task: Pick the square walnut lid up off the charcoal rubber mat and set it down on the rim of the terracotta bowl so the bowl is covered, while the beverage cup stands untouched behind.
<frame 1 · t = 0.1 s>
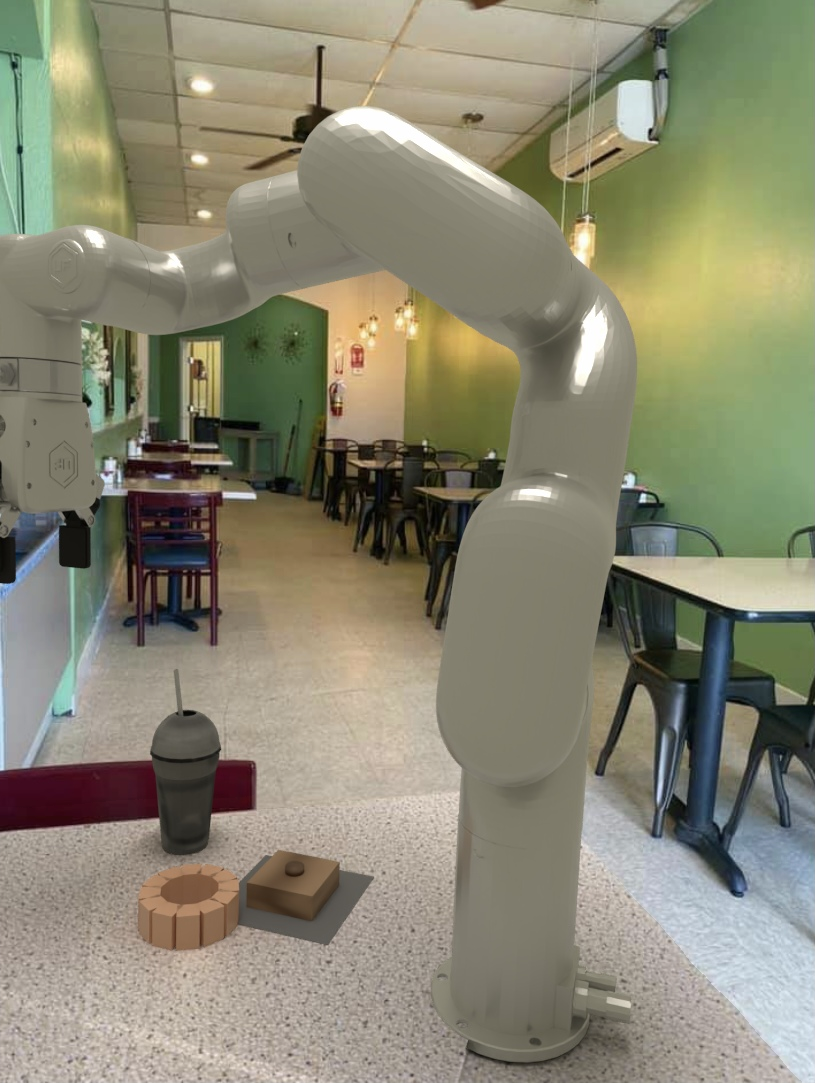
hand: (38, 574, 74), 31 cm above the table, tool pointing down, fingers open, 9 cm apart
bowl: (189, 930, 74), on the table
beverage cup: (185, 854, 87), on the table
mat: (293, 905, 78), on the table
lid: (294, 895, 78), point 1 cm above the table, touching mat
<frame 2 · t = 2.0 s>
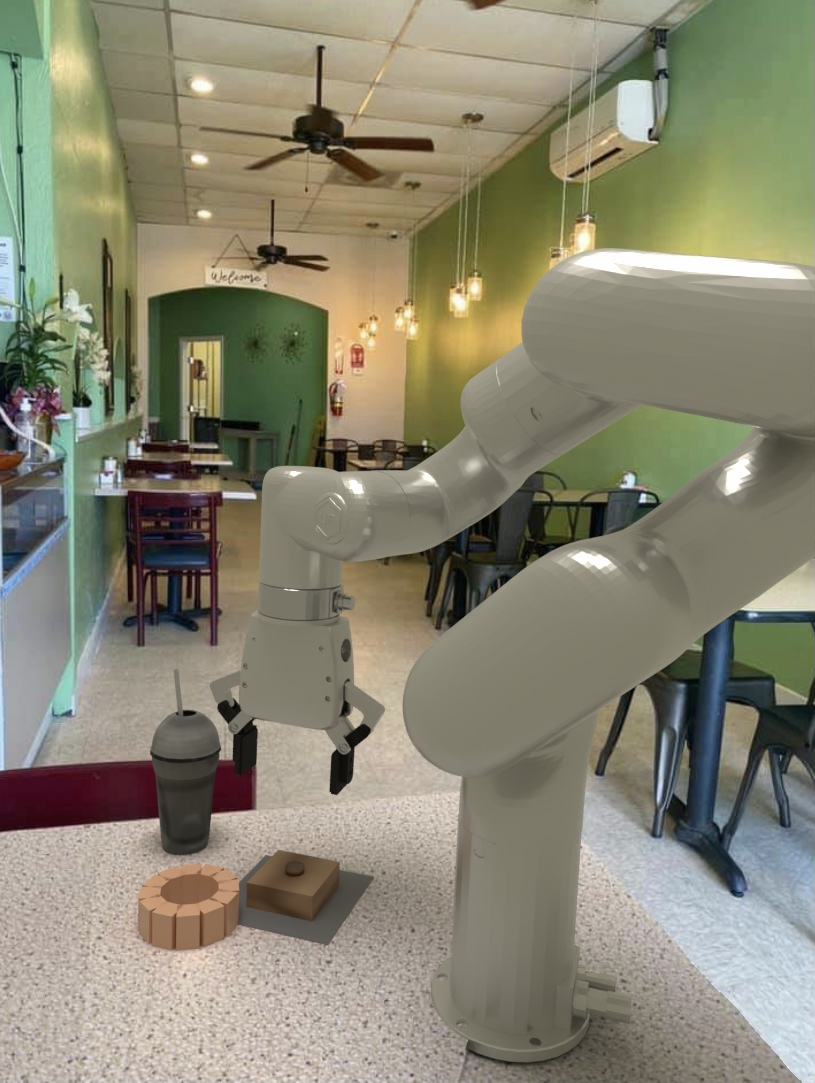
hand: (291, 779, 77), 12 cm above the table, tool pointing down, fingers open, 9 cm apart
nothing on the table moved.
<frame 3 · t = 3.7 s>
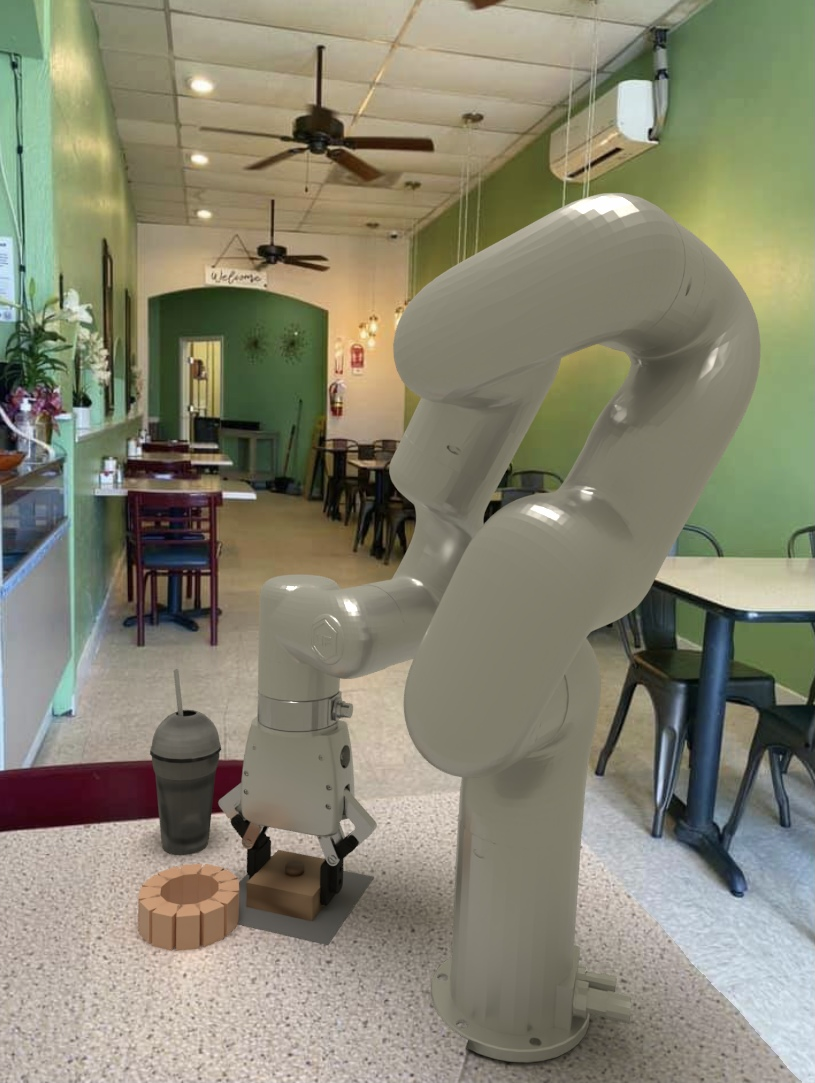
hand: (294, 888, 78), 2 cm above the table, tool pointing down, fingers closed on lid, 6 cm apart
lid: (294, 895, 78), point 1 cm above the table, touching gripper, mat
everything else where it was.
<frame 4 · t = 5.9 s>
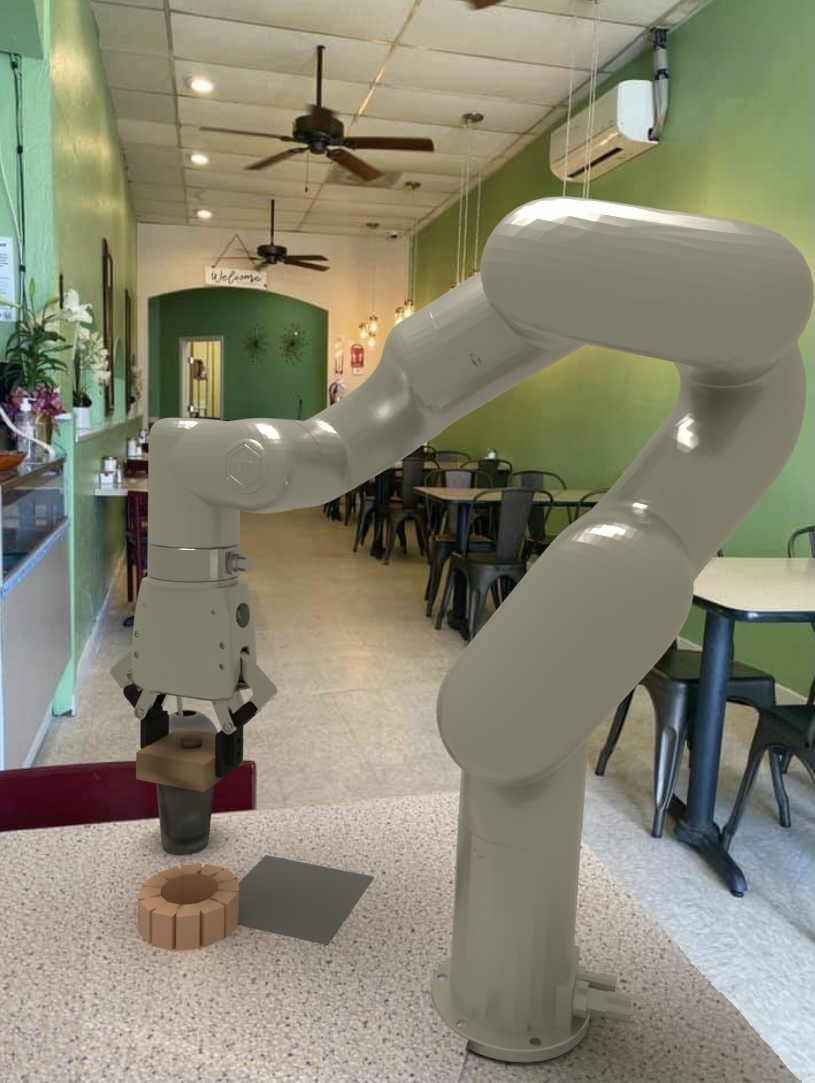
hand: (190, 763, 72), 16 cm above the table, tool pointing down, fingers closed on lid, 6 cm apart
lid: (191, 771, 72), point 15 cm above the table, touching gripper
everything else where it was.
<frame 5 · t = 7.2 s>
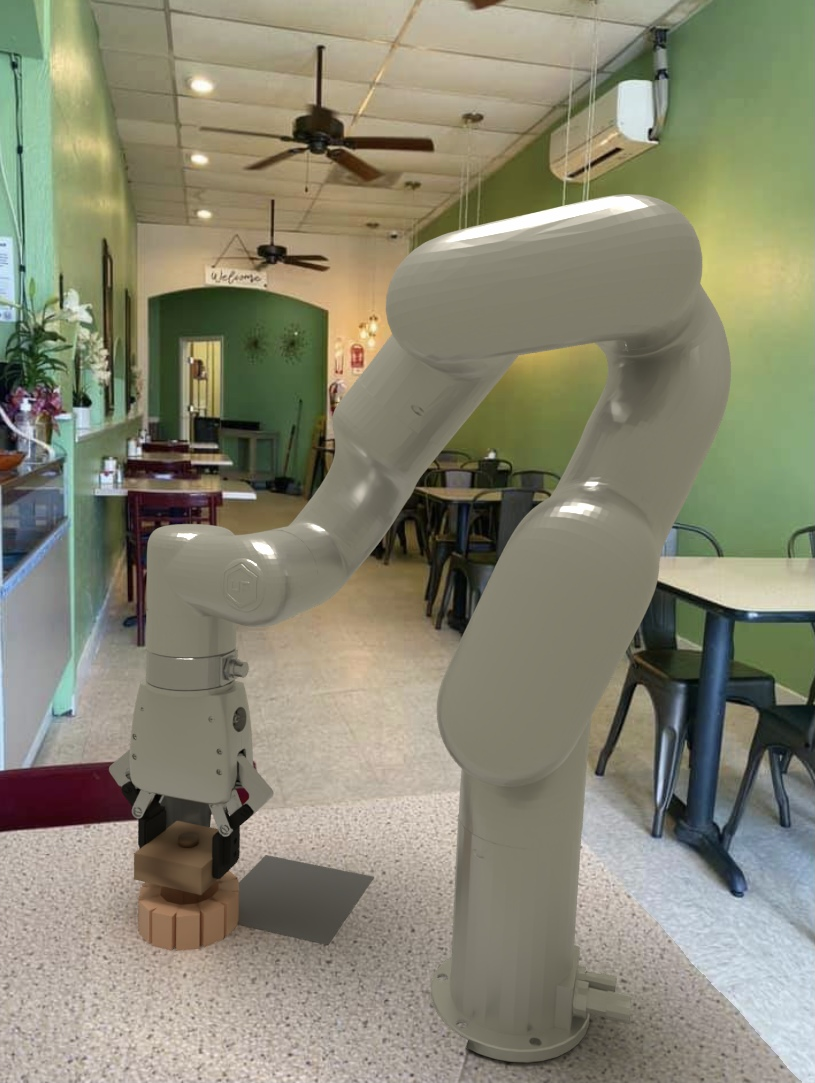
hand: (188, 861, 73), 7 cm above the table, tool pointing down, fingers closed on lid, 6 cm apart
lid: (188, 868, 73), point 6 cm above the table, touching gripper
everything else where it was.
when the fingers open (6 cm above the table, at t = 8.2 s): lid drops 1 cm, resting on bowl.
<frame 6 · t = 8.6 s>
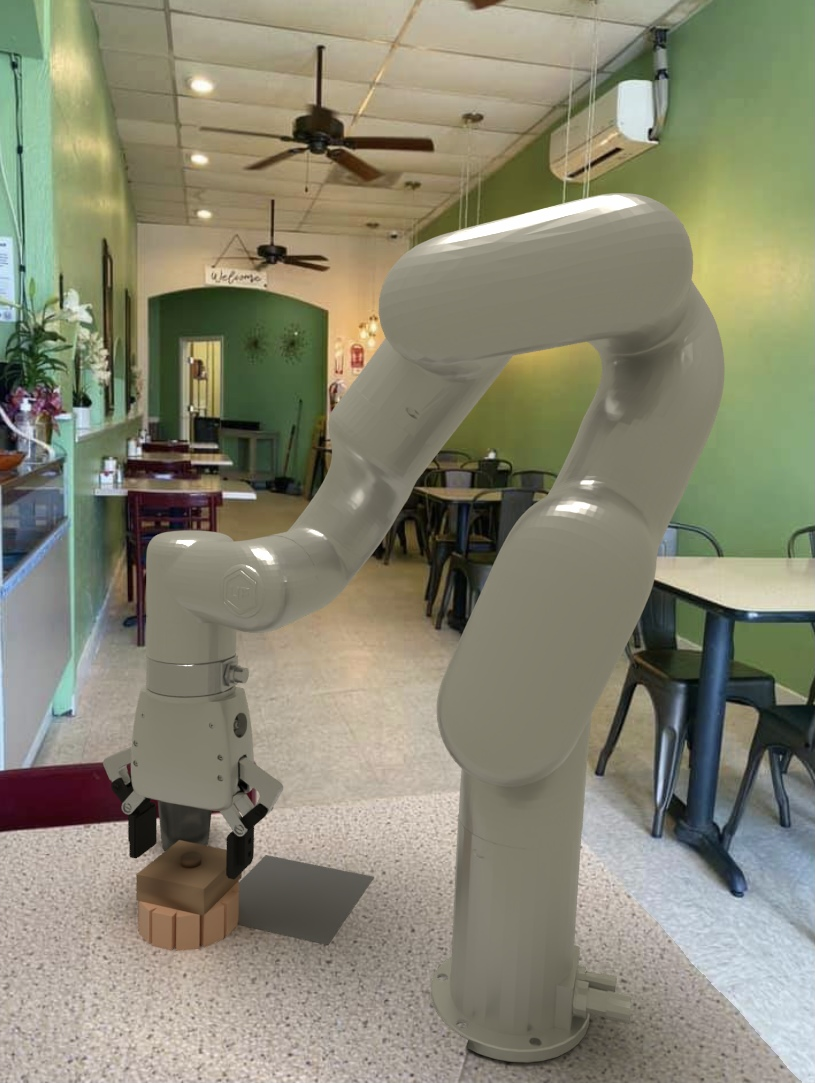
hand: (190, 861, 73), 7 cm above the table, tool pointing down, fingers open, 9 cm apart
lid: (190, 888, 73), point 4 cm above the table, touching bowl
everything else where it was.
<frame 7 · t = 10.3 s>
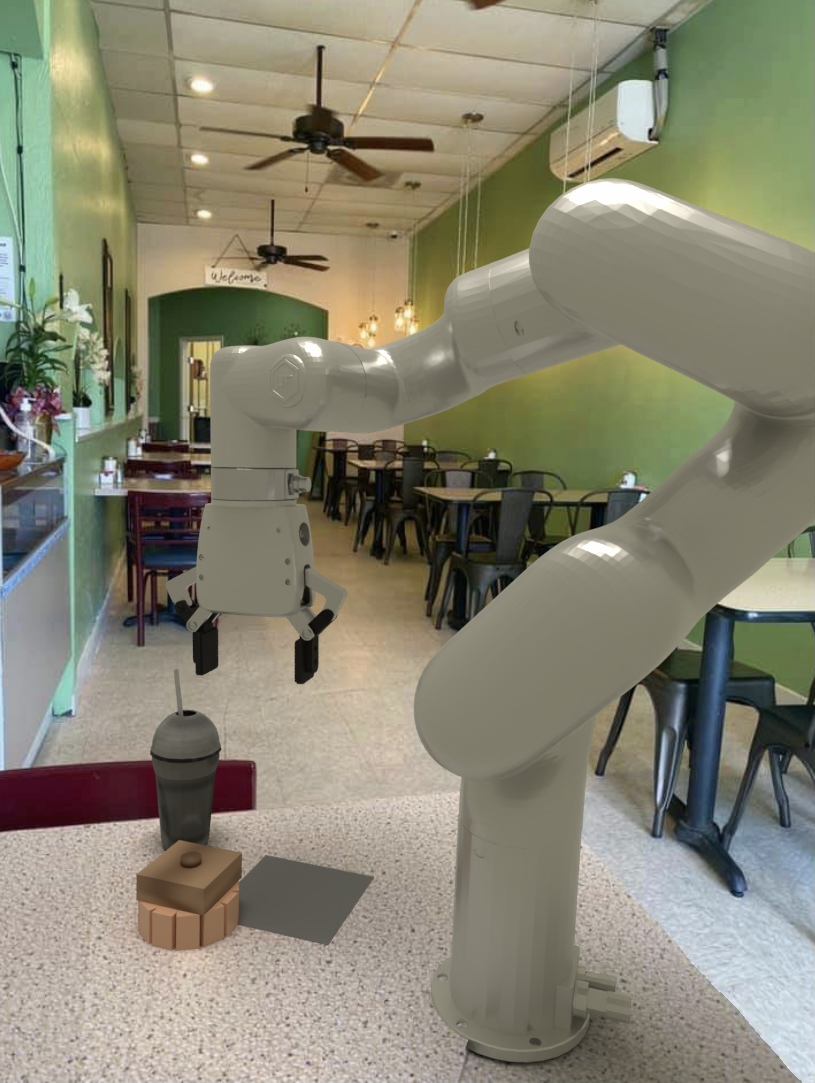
hand: (255, 676, 75), 23 cm above the table, tool pointing down, fingers open, 9 cm apart
nothing on the table moved.
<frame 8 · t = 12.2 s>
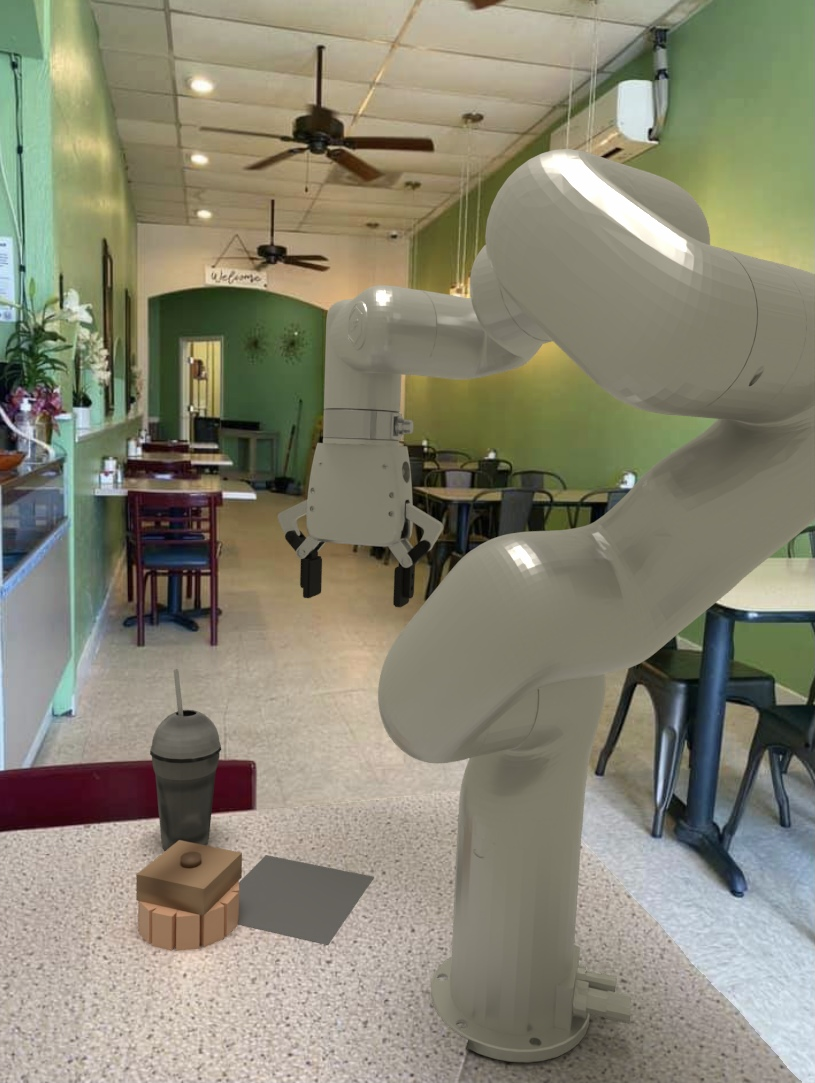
hand: (356, 600, 83), 28 cm above the table, tool pointing down, fingers open, 9 cm apart
nothing on the table moved.
at the end: lid 0.1 cm off-centre on the bowl, point 4.0 cm above the bowl's base; lid tilted 0°; lid touching bowl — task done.
